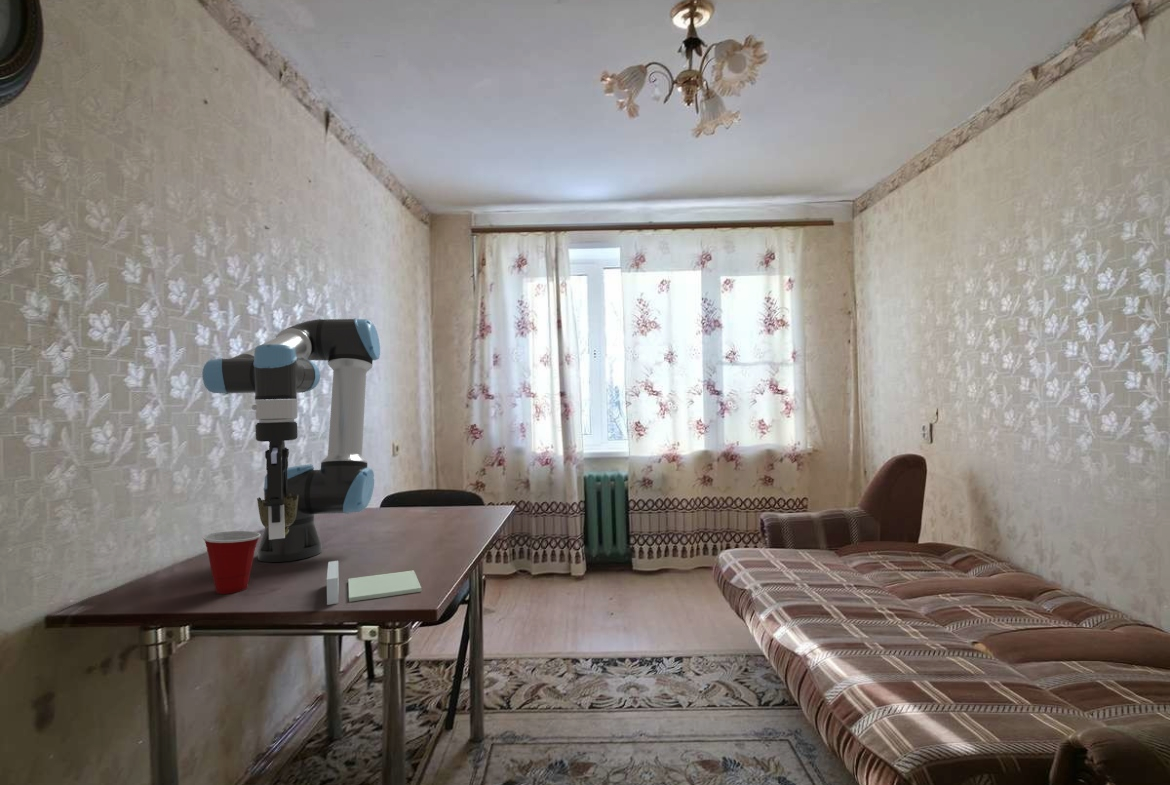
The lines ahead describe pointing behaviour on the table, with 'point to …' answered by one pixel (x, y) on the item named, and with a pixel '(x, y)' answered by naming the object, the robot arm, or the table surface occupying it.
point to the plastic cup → (231, 559)
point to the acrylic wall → (332, 583)
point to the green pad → (383, 585)
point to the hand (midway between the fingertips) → (278, 534)
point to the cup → (289, 510)
